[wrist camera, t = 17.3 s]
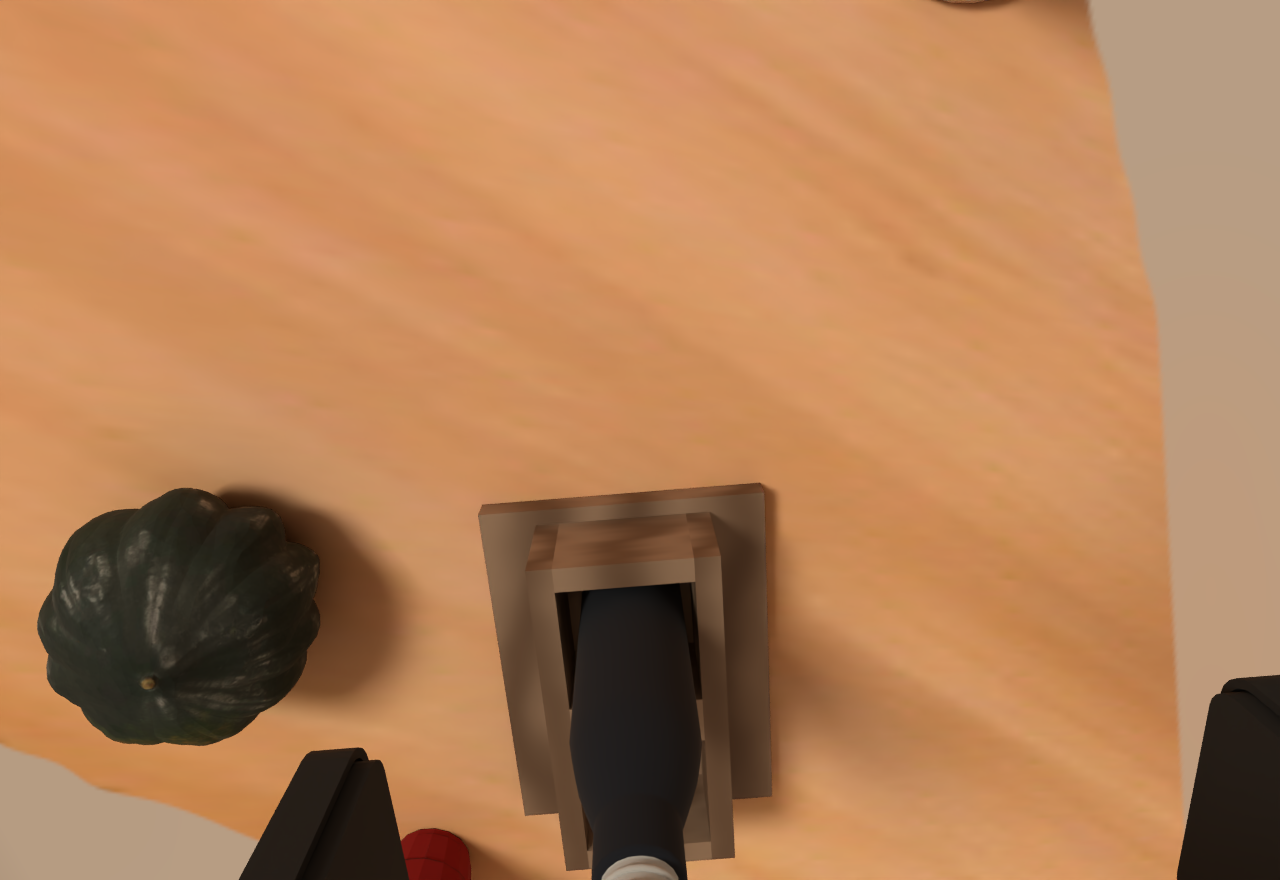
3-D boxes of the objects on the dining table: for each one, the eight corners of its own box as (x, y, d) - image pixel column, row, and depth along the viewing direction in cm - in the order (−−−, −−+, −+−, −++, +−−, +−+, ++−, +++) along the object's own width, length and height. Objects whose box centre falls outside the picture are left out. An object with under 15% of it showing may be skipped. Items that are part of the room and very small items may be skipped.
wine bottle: (683, 549, 51) (763, 1031, 23) (677, 635, 53) (744, 1175, 25) (583, 546, 51) (537, 1031, 22) (581, 633, 53) (537, 1176, 25)
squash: (23, 692, 49) (75, 856, 39) (13, 464, 45) (68, 583, 35) (264, 635, 59) (354, 755, 49) (274, 445, 55) (375, 533, 45)
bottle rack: (760, 482, 51) (782, 534, 44) (768, 780, 59) (788, 865, 52) (482, 504, 51) (460, 560, 44) (527, 799, 59) (514, 886, 52)
